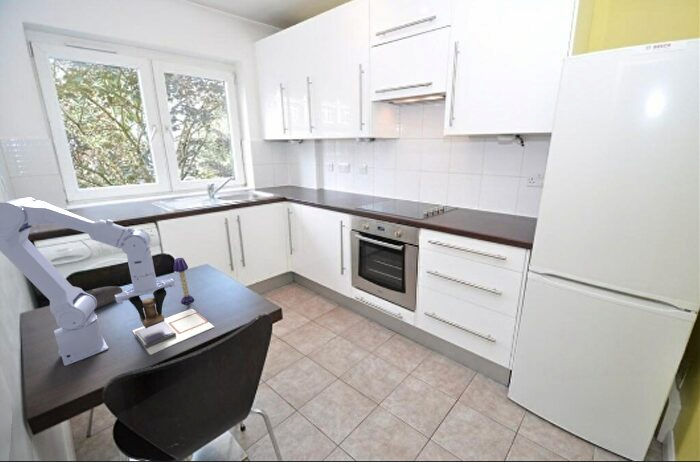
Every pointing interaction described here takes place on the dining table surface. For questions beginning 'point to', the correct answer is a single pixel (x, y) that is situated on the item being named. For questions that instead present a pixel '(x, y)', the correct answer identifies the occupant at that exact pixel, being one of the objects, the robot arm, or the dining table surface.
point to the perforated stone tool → (105, 295)
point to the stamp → (151, 313)
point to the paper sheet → (181, 329)
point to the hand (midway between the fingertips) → (151, 315)
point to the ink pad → (155, 334)
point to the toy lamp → (183, 279)
